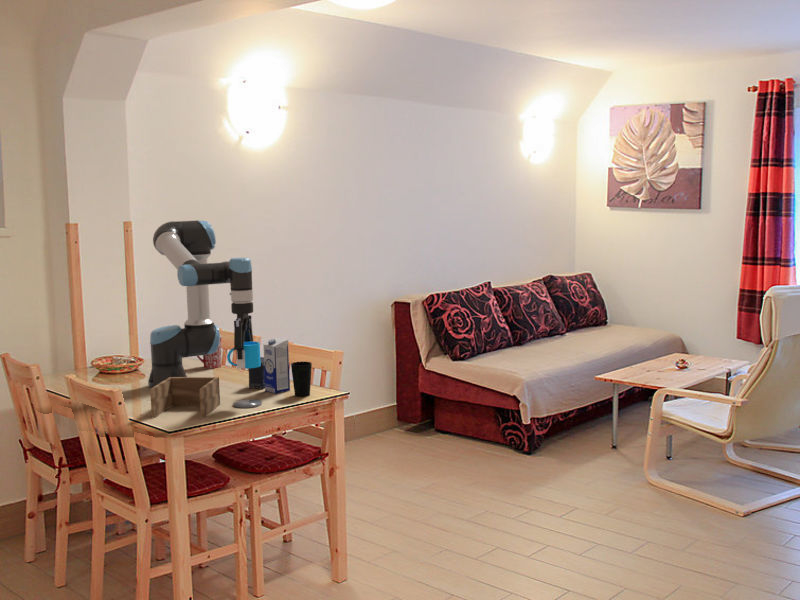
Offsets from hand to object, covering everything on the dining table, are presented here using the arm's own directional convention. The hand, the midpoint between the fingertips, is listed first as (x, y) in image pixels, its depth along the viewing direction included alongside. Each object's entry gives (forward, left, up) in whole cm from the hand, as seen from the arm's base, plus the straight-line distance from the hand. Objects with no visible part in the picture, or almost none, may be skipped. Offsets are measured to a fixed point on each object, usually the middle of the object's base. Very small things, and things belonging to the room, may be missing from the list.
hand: (244, 365), depth 284 cm
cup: (-14, +17, -14) cm, 27 cm away
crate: (+9, -19, -14) cm, 25 cm away
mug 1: (-64, -35, -15) cm, 74 cm away
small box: (-29, -2, -15) cm, 33 cm away
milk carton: (-21, +6, -14) cm, 26 cm away
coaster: (0, 0, -14) cm, 14 cm away
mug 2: (+1, 0, 0) cm, 1 cm away
